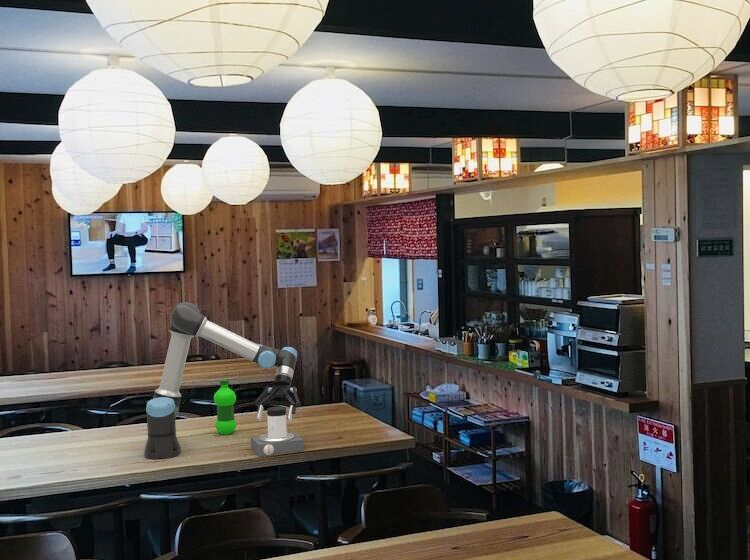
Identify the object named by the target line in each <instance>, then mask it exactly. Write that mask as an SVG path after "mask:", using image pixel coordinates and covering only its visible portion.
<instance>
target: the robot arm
mask: <svg viewBox="0 0 750 560" xmlns="http://www.w3.org/2000/svg"><path fill="white" fill-rule="evenodd" d="M168 331H169V332H170V334H171V336H170V340H169V345H168V348H167V353H166V358H165V361H164V365H163V368H162V369H163V370H162V375H161V379H160V384H159V387H158V388H156V389H154V392H153V396H152V397H153V398H151V399H150V400H148V401H147V403H146V407H145V411H146V421H147V423H146V424H147V425H146V426H147V427H146V428H147V439H146V442H145V447H144V451H143V457H144V458H146V457H147V459H150V458H152V459H151V460H160V459H159V458H163V459H168V458H167V457H170V458H173V457H172V456H174V457H177V456H179V455H181V454H182V448H181V447H182V446H181V444H180V442H179V439H178V437H177V432H176V431H177V430H176V429H177V427H176V418H177V415H178V413H179V410H180V403H181V398H182V394H181V393H180V388H181V384H182V379H183V374H184V371H185V366H186V361H187V359H188V358H187V356H188V353H189V349H190V344H191V341H192V340H191V339H193V338H196V337H201V338H203V339H204V340H207V341H209V342H211V343H213V344H215V345H217V346H219V347H221V348H223V349H226V350H228V351H230V352H232V353H234V354H236V355H238V356H240V357H243V358H245V359H246V360H249V361H251V362H253V363H255V364H257V365H259V366H260V368H263V369H271V368H272V367H277V369H276V372H275V377H274V381H273V384H272V385H273V386H271V387H269V386H268V385H266V386H265V388H264V390H263V391H262V393H261V394H260V395H259V396H258V397H257V398H256V399H255V401H254V405H255V406H256V407H257V409H256V412H257V417H256V418H257V420H258V422H261V421H262V417H263V412H264V409H265V408H264V407H265V406H266V405H267V404H268V403H269V402H271V401H272V400H273V399H275V398H281V399H283V398H286V399H287V400H288V401H289V403H290V404H291V405H290V408H289V411H288V417H287V420H288V421H289V423H290V422H292V421H293V415H295V414H296V410H297V408H301V407H302V405H301V402H300V400H299V396H298V390H297V387H296V386H295V385H294V386H293V387H291V386H292V381H293V377H294V372H295V368H296V364H297V361H298V360H297V358H298V351H297V349H295V348H294V347H292V346H284V347H282V348H281V349H277V348H274V347H270V346H268V345H265V344H260V343H256V342H253V341H251V340H249V339H247V338H246V337H243V336H241V335H239V334H237V333H235V332H233V331H230V330H228V329H227V328H226V327H225V328H224V327H223V326H220V325H219V324H216V323H215V322H212V321H210V320H208V318H207V316H205V315H204V314H201V312H200V309H199V308H198V306H197V305H195V304H194V303H192V302H188V301H186V302H181V303H178V304H177V305H176V306H175V308H173V309H172V312H171V314H170V325H169V329H168ZM290 392H291V393H293V395H294V398H295V401H296V402H295V401H294V400H293V398H292V397H291V395H290ZM180 453H181V454H180ZM176 455H177V456H176Z"/></svg>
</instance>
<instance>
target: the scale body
mask: <svg viewBox="0 0 750 560" xmlns="http://www.w3.org/2000/svg"><path fill="white" fill-rule="evenodd" d="M287 433H292V434H294V438H293V439H292V440H289V441H284V442H274V443H271V442H262V441H260V440H259V436H260V435H253V436H252V435H251V436H250V449H251V448H252V449H251V450H252V451H253V450H254V451H253V452H254V453H255V454H256V455H257V456H258V457H261V458H262V457H268V456H275V455H276V456H277V455H284V454H285V455H286V454H292V453H294V454H295V453H301V452H304V439H303V438H302V437H300V436H299V435H298V434H297V433H295V432H294V431H289V432H288V431H287Z"/></svg>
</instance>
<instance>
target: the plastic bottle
mask: <svg viewBox="0 0 750 560" xmlns="http://www.w3.org/2000/svg"><path fill="white" fill-rule="evenodd" d="M229 384H230V380H229V379H220V380H219V385H220V388H218V390H217V391H216V392H215V393H214V395H213V402H214V404H215V405H216V417H217V420H216V421H215V428H216V431H217V432H218V433H220V435H223V434H224V435H232V433H233V432H234V431H236V429H237V422H236V419H235V405H234V404H235V403H236V401H237V395H236V393H235V391H233V389H232V388H230V387H229Z"/></svg>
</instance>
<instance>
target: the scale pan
mask: <svg viewBox="0 0 750 560" xmlns="http://www.w3.org/2000/svg"><path fill="white" fill-rule="evenodd" d="M258 436H259V440H260V441H262V442H271V443H274V442H284V441H289V440H292V439H293V438H294V434H292V433H287V437H283V438H278V439H276V438H268V432H267V433H264V434H261V435H258Z"/></svg>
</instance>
